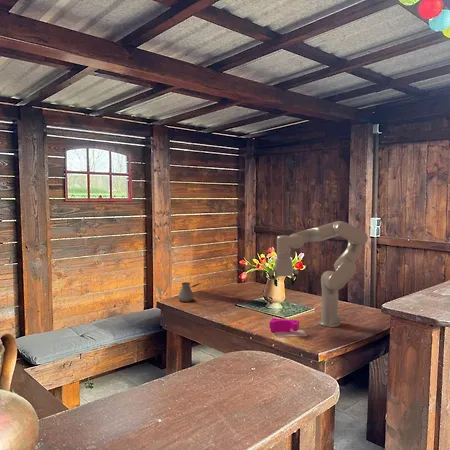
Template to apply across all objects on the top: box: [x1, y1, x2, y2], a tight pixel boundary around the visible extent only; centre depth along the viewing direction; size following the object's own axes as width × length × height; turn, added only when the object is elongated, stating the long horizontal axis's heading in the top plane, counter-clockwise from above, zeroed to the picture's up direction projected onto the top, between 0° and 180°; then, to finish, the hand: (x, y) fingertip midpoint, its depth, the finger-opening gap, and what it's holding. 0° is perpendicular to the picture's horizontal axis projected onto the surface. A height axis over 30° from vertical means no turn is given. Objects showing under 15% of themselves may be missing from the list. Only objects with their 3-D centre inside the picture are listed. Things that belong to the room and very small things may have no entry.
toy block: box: [269, 317, 300, 333], centre depth 222 cm, size 15×6×8 cm
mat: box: [274, 329, 308, 338], centre depth 221 cm, size 16×9×1 cm, turn 97°
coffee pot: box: [178, 281, 201, 303], centre depth 289 cm, size 21×12×15 cm, turn 45°
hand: (284, 285), depth 235 cm, fingers open, 9 cm apart
